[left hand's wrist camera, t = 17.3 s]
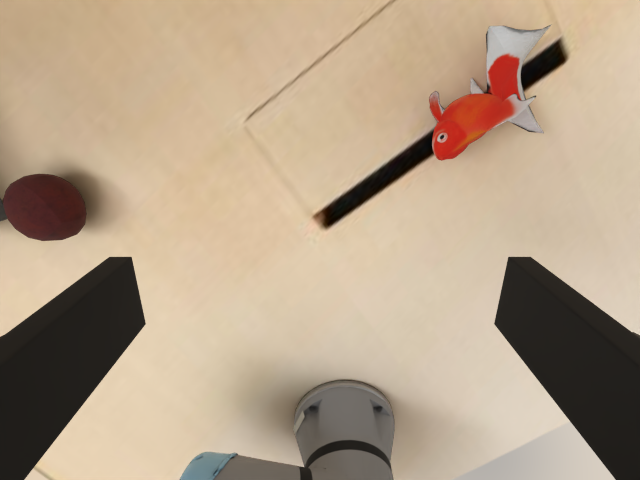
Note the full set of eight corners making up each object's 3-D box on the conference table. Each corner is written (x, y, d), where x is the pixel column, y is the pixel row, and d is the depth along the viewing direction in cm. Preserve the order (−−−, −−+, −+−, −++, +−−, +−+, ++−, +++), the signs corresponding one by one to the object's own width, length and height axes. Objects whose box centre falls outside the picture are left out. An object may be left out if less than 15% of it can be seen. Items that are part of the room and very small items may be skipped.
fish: (382, 75, 34) (473, 79, 26) (491, -1, 37) (599, -17, 30) (408, 168, 40) (486, 193, 33) (498, 96, 44) (588, 104, 36)
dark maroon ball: (64, 156, 41) (15, 166, 34) (113, 210, 43) (76, 229, 37) (21, 191, 42) (-33, 207, 36) (71, 241, 45) (28, 265, 38)
